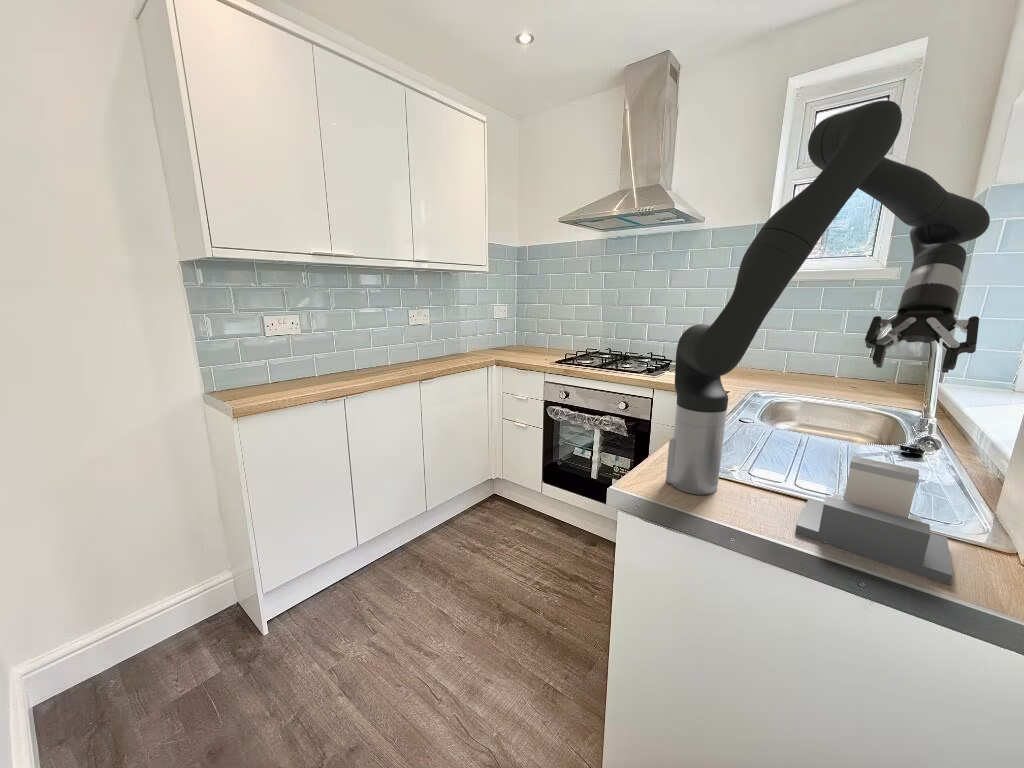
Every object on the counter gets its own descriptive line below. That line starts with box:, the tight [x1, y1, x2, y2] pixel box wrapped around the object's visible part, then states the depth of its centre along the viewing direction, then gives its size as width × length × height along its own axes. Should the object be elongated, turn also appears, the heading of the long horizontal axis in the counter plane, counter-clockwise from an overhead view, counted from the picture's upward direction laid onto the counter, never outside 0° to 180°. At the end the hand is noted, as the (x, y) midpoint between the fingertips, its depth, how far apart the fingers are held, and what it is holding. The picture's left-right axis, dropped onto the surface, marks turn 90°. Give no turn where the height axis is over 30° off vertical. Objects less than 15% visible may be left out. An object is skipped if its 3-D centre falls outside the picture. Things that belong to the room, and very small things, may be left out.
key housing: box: [794, 493, 954, 586], centre depth 66 cm, size 18×12×6 cm, turn 46°
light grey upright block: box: [842, 455, 920, 518], centre depth 67 cm, size 8×3×10 cm, turn 46°
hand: (910, 367), depth 72 cm, fingers open, 8 cm apart
